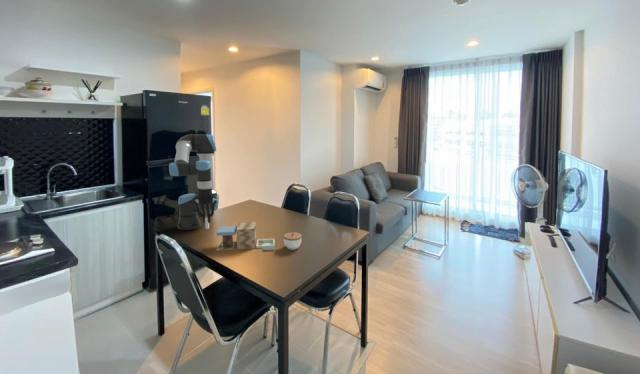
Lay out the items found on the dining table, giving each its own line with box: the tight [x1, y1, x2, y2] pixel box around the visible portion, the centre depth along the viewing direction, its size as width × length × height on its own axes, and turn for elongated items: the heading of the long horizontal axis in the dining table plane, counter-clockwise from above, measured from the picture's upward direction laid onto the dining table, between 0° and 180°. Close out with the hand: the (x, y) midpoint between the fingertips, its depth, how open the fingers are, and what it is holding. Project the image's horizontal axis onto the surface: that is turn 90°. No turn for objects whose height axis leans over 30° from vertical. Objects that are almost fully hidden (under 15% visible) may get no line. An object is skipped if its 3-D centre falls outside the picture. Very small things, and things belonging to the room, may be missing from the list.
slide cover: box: [216, 225, 238, 237], centre depth 176 cm, size 10×10×2 cm
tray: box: [255, 238, 276, 251], centre depth 181 cm, size 11×11×3 cm
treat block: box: [221, 235, 234, 248], centre depth 177 cm, size 5×5×7 cm
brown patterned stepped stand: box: [215, 221, 257, 251], centre depth 178 cm, size 22×12×14 cm, turn 99°
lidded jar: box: [283, 232, 302, 251], centre depth 180 cm, size 11×11×9 cm
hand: (207, 227), depth 174 cm, fingers closed
